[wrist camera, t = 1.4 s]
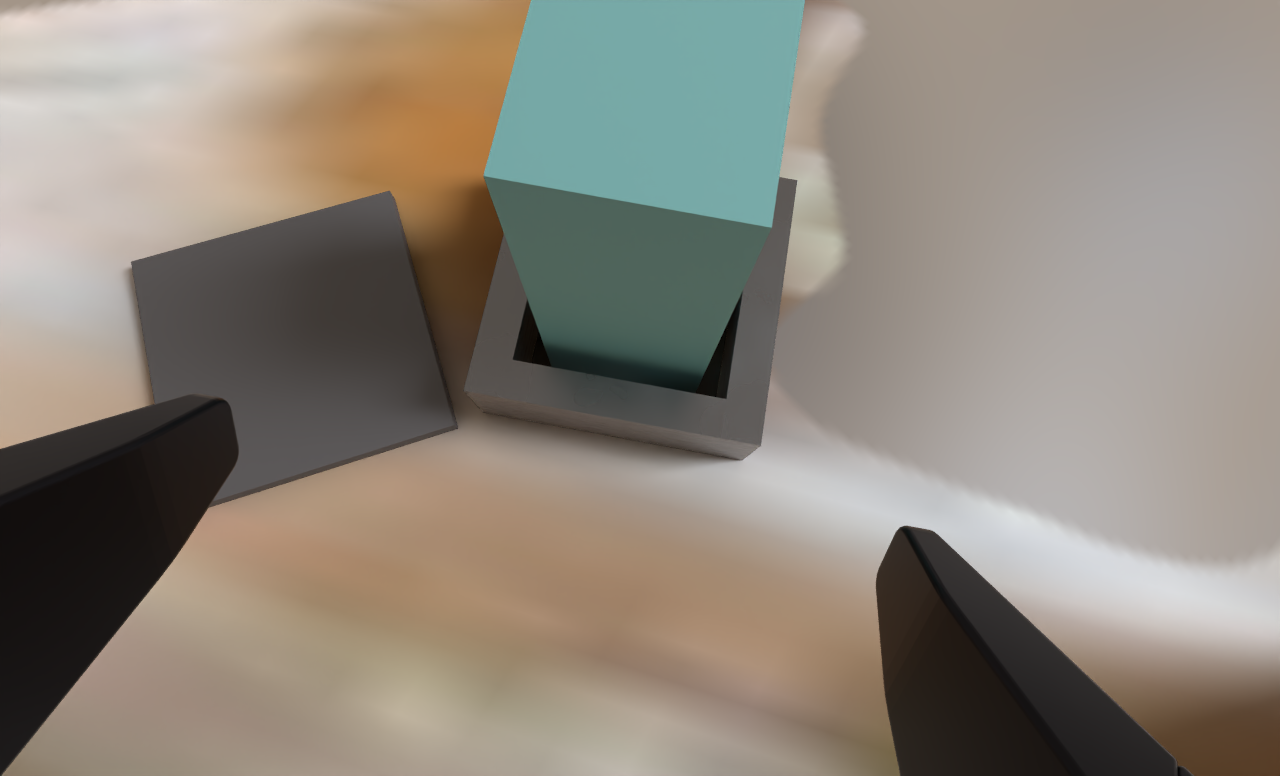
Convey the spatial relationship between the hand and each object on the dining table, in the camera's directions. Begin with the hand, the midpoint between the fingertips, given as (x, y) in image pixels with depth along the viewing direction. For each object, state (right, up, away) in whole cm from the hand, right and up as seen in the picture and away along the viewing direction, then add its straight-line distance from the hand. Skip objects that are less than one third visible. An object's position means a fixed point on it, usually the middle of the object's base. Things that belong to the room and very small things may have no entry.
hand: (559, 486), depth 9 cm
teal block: (+1, +4, +15) cm, 15 cm away
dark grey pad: (-11, +3, +14) cm, 18 cm away
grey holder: (+1, +4, +15) cm, 15 cm away
